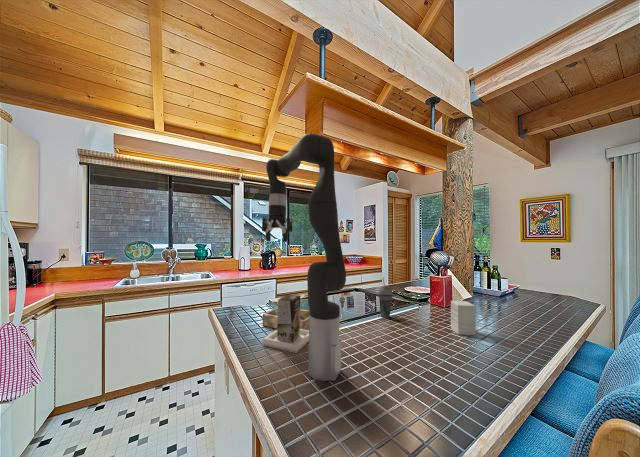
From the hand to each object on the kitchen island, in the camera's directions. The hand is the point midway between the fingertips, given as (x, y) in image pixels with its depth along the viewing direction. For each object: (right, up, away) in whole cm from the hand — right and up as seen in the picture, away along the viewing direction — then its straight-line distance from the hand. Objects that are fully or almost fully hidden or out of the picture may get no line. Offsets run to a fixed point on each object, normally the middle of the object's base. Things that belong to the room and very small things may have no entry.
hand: (276, 241), depth 107 cm
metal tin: (+1, -38, +7) cm, 39 cm away
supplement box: (+82, -40, 0) cm, 91 cm away
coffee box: (+7, -37, -13) cm, 40 cm away
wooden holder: (+6, -38, +5) cm, 39 cm away
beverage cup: (+53, -40, +18) cm, 68 cm away
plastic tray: (+7, -38, -13) cm, 41 cm away
